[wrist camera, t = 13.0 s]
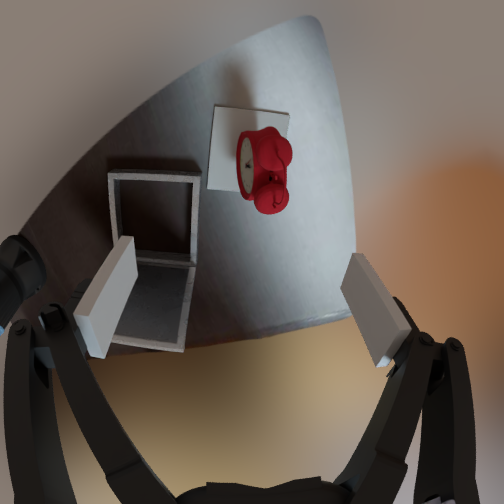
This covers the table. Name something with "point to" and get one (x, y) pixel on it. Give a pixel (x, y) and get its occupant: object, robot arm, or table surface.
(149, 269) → the lid
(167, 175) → the case
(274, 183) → the alarm clock
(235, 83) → the table surface
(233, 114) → the mat
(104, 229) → the table surface
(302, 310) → the table surface
